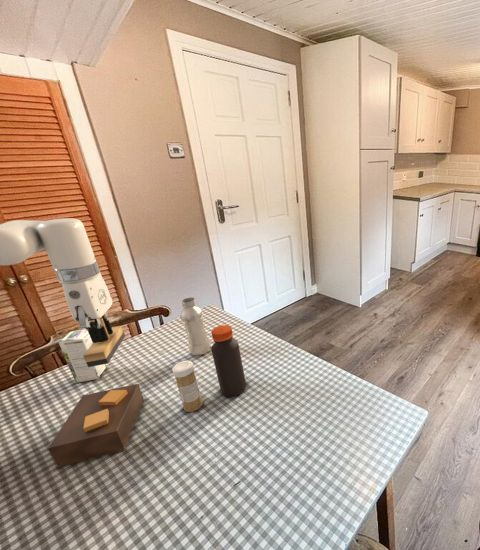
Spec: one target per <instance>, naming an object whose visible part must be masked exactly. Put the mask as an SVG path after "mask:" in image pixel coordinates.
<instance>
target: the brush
mask: <svg viewBox="0 0 480 550" xmlns="http://www.w3.org/2000/svg"><path fill="white" fill-rule="evenodd" d="M89 322H95V320H91V321H89ZM100 322H101V325H102V326H104V327H105V330H106V333H107V335H108V338H109V339H108V340H107V341H103V342H97V343H93V344H92V345H91V346H90V347H89V349H88V350H87V351H86V353H85V354H84V355H83V356H84V359H85V361H86V363H87V366H88V367H92V366H98V365H103V364H106V365H107V364H109V363H110V362H111V359H112V358H113V357H114V355H115V353H116V352H117V351H118V348H119V347H120V345H121V343H122V342H123V341H124V339H125V338H126V335H125V331H124V328H123V326H122V325H116V326H111V327H112V330H113V333H112V334H110V335H109V334H108V331H107V329H106V326H105V323H104V321H103V318H102V317H101V318H100Z"/></svg>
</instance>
